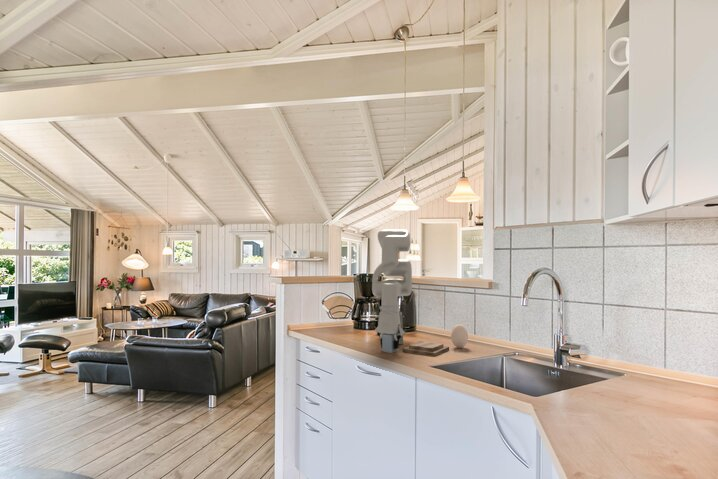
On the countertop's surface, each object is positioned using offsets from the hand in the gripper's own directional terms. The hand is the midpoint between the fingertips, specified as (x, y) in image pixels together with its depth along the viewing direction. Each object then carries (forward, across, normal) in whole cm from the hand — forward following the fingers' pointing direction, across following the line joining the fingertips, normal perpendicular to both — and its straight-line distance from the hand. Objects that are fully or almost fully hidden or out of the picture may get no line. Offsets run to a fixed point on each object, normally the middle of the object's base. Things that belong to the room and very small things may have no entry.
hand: (389, 347), depth 206 cm
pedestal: (+2, +14, +10) cm, 17 cm away
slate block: (+2, 0, 0) cm, 2 cm away
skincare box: (+2, -7, +17) cm, 18 cm away
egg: (+2, +24, +26) cm, 35 cm away
